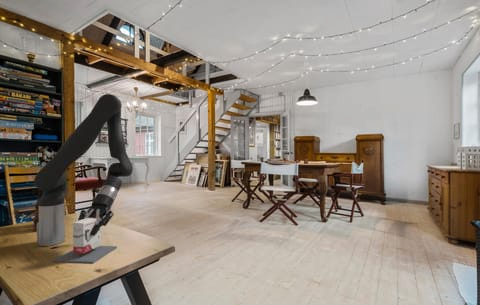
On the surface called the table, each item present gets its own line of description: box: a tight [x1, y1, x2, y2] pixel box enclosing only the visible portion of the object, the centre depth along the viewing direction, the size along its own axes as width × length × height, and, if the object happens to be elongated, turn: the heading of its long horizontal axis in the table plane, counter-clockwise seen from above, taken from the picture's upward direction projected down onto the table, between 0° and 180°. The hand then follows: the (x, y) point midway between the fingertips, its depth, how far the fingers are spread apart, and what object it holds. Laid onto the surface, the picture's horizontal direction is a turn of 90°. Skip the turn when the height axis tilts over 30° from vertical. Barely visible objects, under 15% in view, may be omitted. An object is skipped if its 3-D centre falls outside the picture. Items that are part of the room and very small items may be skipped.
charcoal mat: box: [52, 245, 118, 264], centre depth 94 cm, size 16×14×1 cm
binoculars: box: [32, 189, 43, 233], centre depth 130 cm, size 18×8×20 cm, turn 38°
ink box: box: [72, 218, 101, 254], centre depth 95 cm, size 9×5×12 cm, turn 169°
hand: (85, 234), depth 94 cm, fingers closed on ink box, 5 cm apart
